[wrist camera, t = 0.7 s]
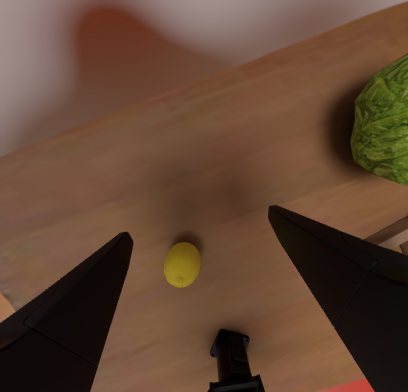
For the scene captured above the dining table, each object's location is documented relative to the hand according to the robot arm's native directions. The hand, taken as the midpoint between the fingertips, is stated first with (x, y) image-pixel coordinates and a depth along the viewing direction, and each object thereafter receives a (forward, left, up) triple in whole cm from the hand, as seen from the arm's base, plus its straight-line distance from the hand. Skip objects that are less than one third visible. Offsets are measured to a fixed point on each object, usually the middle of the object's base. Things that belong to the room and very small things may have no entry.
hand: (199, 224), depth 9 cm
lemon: (-11, -1, -16) cm, 19 cm away
